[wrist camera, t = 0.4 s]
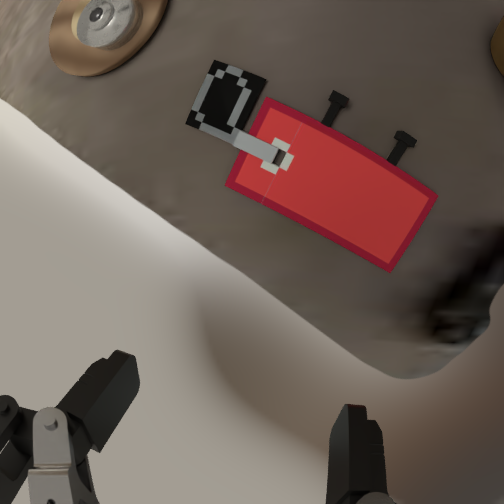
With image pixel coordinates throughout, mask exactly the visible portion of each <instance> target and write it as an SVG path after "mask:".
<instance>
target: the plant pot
mask: <svg viewBox="0 0 504 504" xmlns="http://www.w3.org/2000/svg"><path fill="white" fill-rule="evenodd" d="M491 54H492V57H493V60H494V62H495V64H496V66H497V68H498V69H499V71H500V72H501V74H502V75H503V76H504V16H503V18H502V20H501V21H500V23H499V25H498V27H497V29H496V31H495V33H494V35H493V37H492V40H491Z"/></svg>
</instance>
